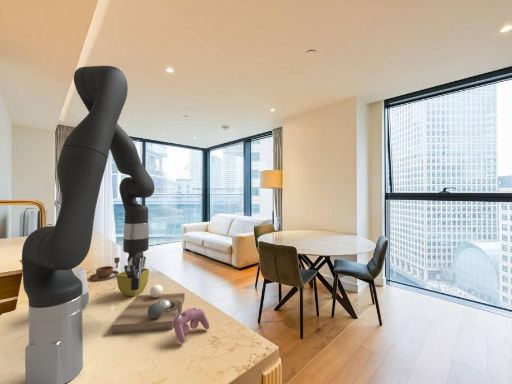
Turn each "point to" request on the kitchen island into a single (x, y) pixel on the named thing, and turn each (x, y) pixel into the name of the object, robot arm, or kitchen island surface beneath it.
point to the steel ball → (165, 304)
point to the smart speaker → (83, 284)
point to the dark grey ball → (155, 310)
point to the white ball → (156, 291)
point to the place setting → (105, 272)
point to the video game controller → (185, 317)
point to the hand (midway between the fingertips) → (135, 289)
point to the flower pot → (125, 283)
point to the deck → (138, 316)
